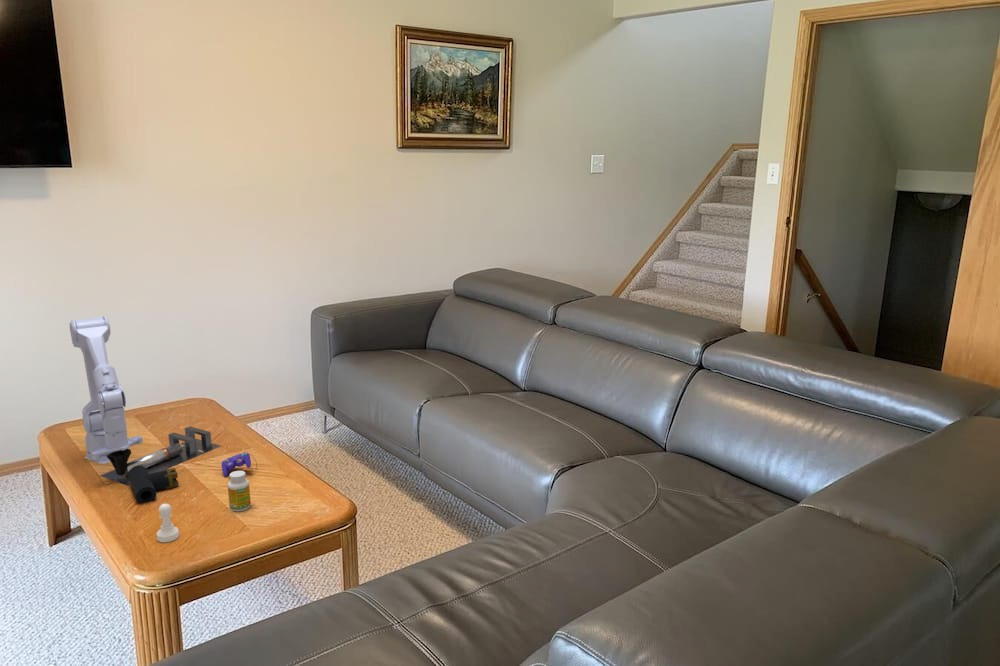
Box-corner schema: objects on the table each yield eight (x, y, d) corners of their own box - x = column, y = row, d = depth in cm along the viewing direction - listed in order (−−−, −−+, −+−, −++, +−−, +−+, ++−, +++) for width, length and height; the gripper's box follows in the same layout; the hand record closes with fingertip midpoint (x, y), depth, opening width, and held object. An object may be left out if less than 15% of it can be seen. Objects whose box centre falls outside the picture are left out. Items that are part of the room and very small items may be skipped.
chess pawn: (166, 531, 187) (163, 498, 185) (183, 534, 186) (180, 501, 183) (152, 541, 182) (148, 507, 180) (169, 544, 181) (165, 510, 179)
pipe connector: (170, 458, 216) (181, 479, 204) (172, 475, 218) (182, 496, 206) (127, 467, 210) (134, 489, 198) (129, 484, 212) (137, 506, 199)
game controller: (214, 472, 212) (217, 452, 221) (226, 493, 216) (228, 472, 225) (248, 459, 213) (250, 440, 222) (260, 481, 217) (260, 461, 226)
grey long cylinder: (129, 477, 216) (129, 466, 215) (121, 473, 217) (121, 462, 216) (182, 455, 231) (182, 445, 230) (174, 452, 233) (174, 441, 232)
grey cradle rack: (99, 477, 217) (97, 458, 215) (194, 439, 244) (192, 422, 243) (128, 487, 210) (125, 468, 209) (222, 447, 238) (220, 430, 237)
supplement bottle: (238, 513, 196) (235, 479, 193) (225, 508, 199) (222, 475, 196) (255, 505, 200) (252, 472, 198) (241, 500, 203) (238, 467, 201)
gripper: (99, 441, 204) (106, 487, 207) (147, 424, 216) (152, 467, 219) (84, 436, 207) (90, 481, 211) (131, 420, 219) (136, 462, 223)
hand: (121, 474), depth 215 cm, fingers closed
